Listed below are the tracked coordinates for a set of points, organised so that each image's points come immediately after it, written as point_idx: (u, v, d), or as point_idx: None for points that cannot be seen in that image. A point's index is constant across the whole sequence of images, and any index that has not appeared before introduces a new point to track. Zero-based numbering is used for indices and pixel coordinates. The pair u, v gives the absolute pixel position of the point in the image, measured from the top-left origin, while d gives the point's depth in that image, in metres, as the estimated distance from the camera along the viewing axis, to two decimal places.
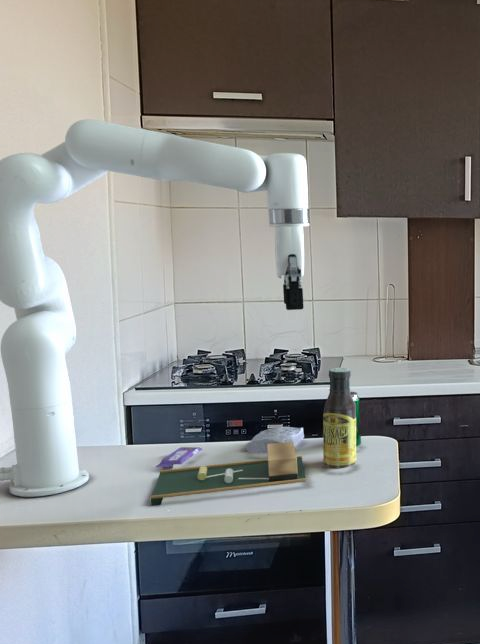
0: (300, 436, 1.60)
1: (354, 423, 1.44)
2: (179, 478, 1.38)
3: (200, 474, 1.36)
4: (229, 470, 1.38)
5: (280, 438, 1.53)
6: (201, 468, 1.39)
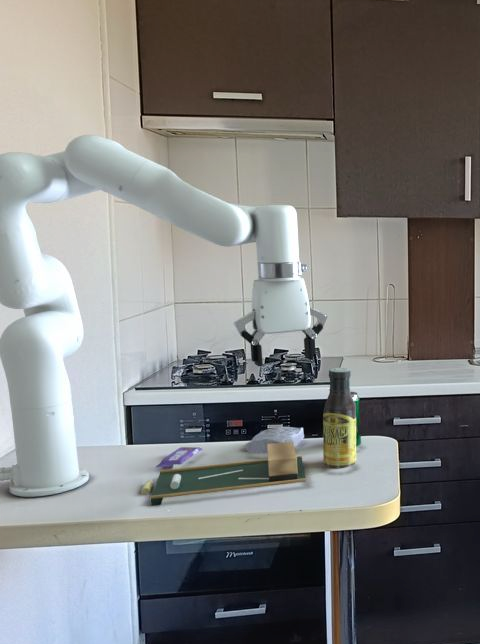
0: (300, 436, 1.60)
1: (354, 423, 1.44)
2: None
3: (142, 491, 1.34)
4: (178, 476, 1.35)
5: (280, 438, 1.53)
6: None
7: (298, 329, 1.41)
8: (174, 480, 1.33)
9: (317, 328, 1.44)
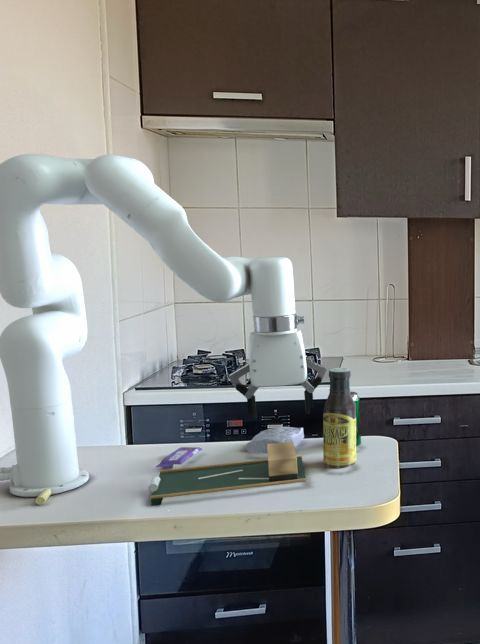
0: (300, 436, 1.60)
1: (354, 423, 1.44)
2: (179, 478, 1.38)
3: (43, 500, 1.29)
4: (158, 484, 1.34)
5: (280, 438, 1.53)
6: (49, 496, 1.32)
7: (293, 383, 1.38)
8: (158, 486, 1.32)
9: (315, 381, 1.40)
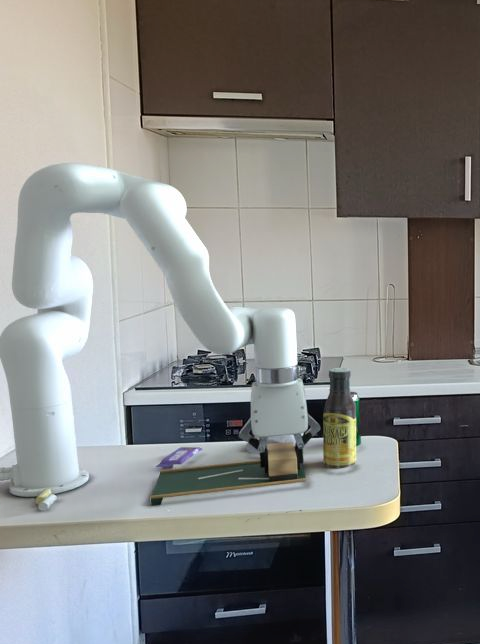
0: None
1: (354, 423, 1.44)
2: (179, 478, 1.38)
3: None
4: None
5: (280, 438, 1.53)
6: None
7: (294, 433, 1.39)
8: None
9: (305, 437, 1.41)
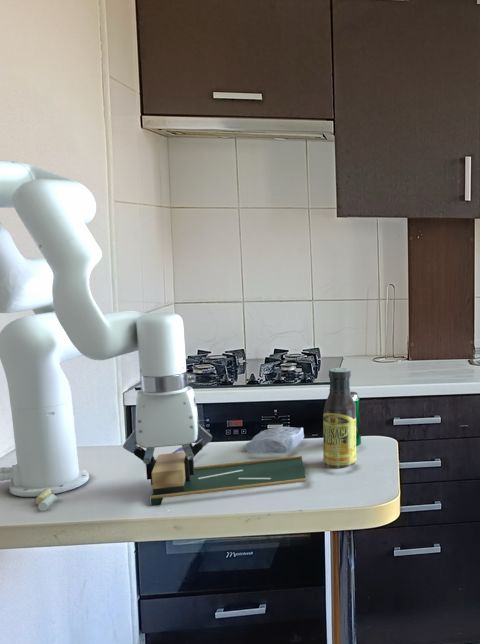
0: (300, 436, 1.60)
1: (354, 423, 1.44)
2: None
3: None
4: None
5: (280, 438, 1.53)
6: None
7: (182, 443, 1.33)
8: None
9: (195, 448, 1.35)
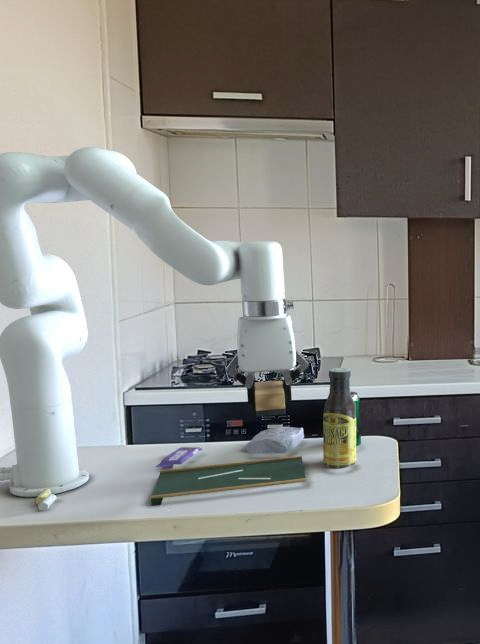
0: (300, 436, 1.60)
1: (354, 423, 1.44)
2: (179, 478, 1.38)
3: None
4: None
5: (280, 438, 1.53)
6: None
7: (282, 368, 1.37)
8: None
9: (293, 374, 1.39)
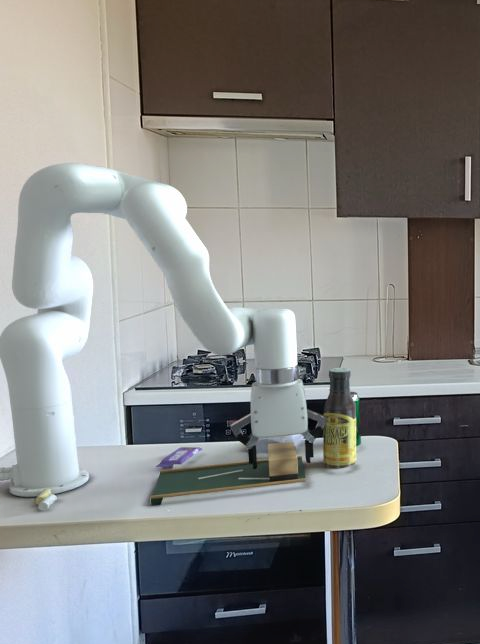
0: (300, 436, 1.60)
1: (354, 423, 1.44)
2: (179, 478, 1.38)
3: None
4: None
5: (280, 438, 1.53)
6: None
7: (294, 433, 1.39)
8: None
9: (316, 431, 1.42)
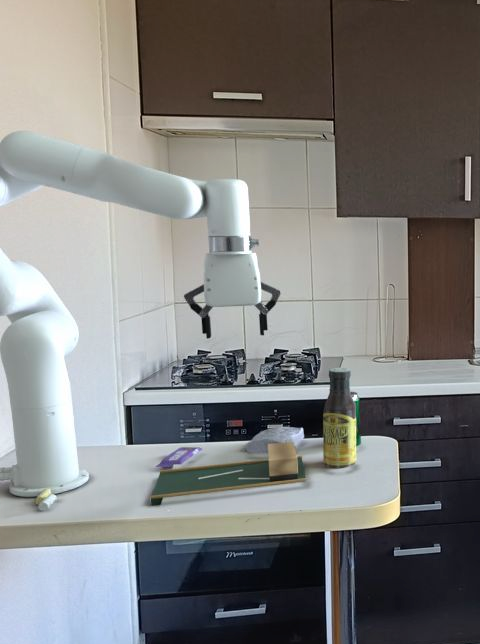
0: (300, 436, 1.60)
1: (354, 423, 1.44)
2: (179, 478, 1.38)
3: None
4: None
5: (280, 438, 1.53)
6: None
7: (247, 304, 1.41)
8: None
9: (269, 304, 1.43)
